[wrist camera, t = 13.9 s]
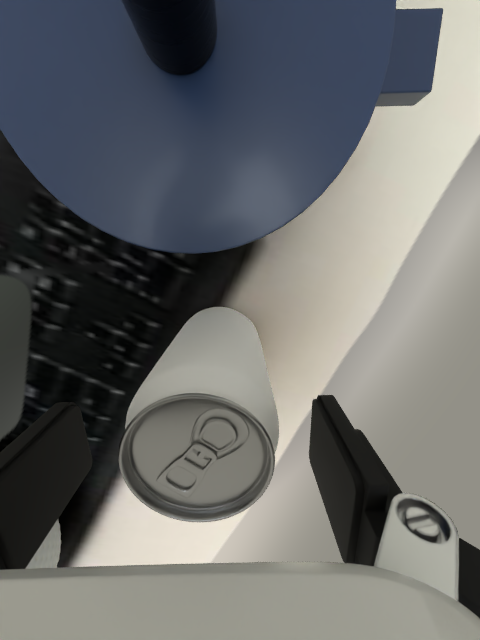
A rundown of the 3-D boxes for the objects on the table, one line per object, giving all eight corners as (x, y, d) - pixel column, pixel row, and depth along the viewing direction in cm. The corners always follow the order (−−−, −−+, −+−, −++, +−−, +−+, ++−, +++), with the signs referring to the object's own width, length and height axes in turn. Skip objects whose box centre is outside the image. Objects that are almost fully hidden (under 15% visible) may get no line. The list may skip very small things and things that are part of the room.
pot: (57, 33, 15) (-176, -243, 7) (352, 25, 15) (500, -264, 7) (93, 247, 19) (-32, 246, 10) (337, 241, 19) (423, 234, 10)
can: (276, 336, 21) (324, 448, 9) (228, 394, 22) (217, 554, 10) (210, 288, 20) (169, 345, 8) (164, 351, 21) (73, 479, 9)
